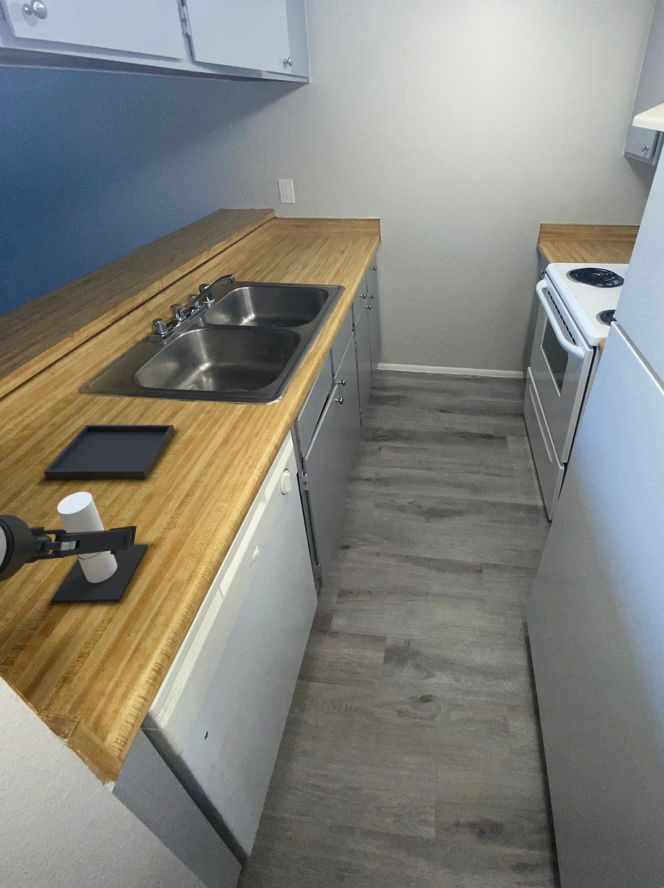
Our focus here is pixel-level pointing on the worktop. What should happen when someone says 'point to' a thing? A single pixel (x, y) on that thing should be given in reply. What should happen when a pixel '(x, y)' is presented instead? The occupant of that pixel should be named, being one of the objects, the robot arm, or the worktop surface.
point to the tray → (111, 452)
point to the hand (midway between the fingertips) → (86, 535)
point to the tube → (83, 518)
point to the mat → (107, 590)
